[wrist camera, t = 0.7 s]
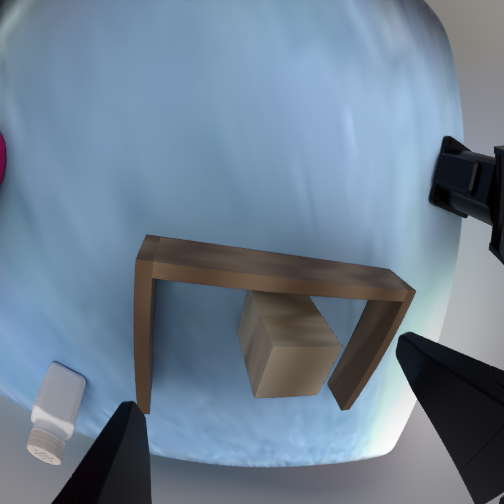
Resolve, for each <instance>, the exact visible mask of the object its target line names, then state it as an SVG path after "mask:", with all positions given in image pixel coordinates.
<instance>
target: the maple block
mask: <svg viewBox="0 0 504 504" xmlns="http://www.w3.org/2000/svg"><path fill="white" fill-rule="evenodd" d="M237 333H238V337H239V341H240V345H241V349H242V353H243V357H244V361H245V365H246V369H247V373H248V376H249V380H250V384H251V388H252V392H253V395H254V398H275V397H295V396H309V395H317V394H318V392H319V390H320V388H321V387H322V385H323V383H324V381H325V379H326V378H327V376H328V374H329V372H330V370H331V368H332V366H333V364H334V362H335V360H336V358H337V356H338V354H339V352H340V350H341V348H342V345H341V343H340V342H339V340H338V339H337V337H336V336H335V334H334V333H333V331H332V330H331V328H330V327H329V325H328V324H327V322H326V321H325V320H324V318H323V317H322V315H321V314H320V312H319V311H318V309H317V308H316V306H315V305H314V303H313V302H312V300H311V299H310V298H309V296H308V295H299V294H288V293H277V292H266V291H256V290H248V291H247V295H246V299H245V303H244V307H243V311H242V315H241V319H240V323H239V327H238V331H237Z"/></svg>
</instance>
